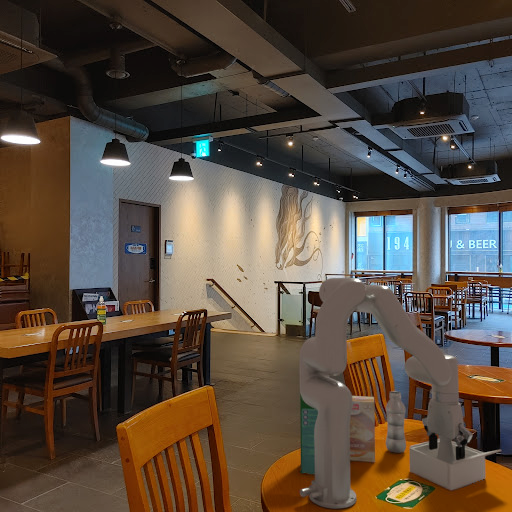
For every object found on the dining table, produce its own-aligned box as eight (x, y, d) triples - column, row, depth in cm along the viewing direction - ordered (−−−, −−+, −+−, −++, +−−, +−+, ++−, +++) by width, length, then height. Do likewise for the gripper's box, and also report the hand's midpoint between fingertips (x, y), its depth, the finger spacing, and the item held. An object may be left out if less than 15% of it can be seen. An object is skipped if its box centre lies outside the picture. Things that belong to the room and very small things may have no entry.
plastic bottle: (391, 446, 166) (390, 389, 167) (409, 451, 161) (408, 392, 162) (382, 451, 161) (381, 392, 162) (400, 457, 157) (399, 396, 157)
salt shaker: (458, 473, 143) (457, 429, 143) (455, 480, 138) (454, 435, 139) (438, 468, 146) (437, 426, 147) (434, 475, 141) (433, 431, 142)
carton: (450, 491, 132) (449, 464, 132) (407, 471, 145) (406, 446, 145) (486, 478, 139) (486, 453, 140) (442, 461, 153) (442, 437, 153)
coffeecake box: (328, 459, 155) (327, 399, 156) (330, 451, 162) (329, 393, 163) (375, 462, 152) (374, 401, 153) (374, 454, 159) (374, 396, 160)
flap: (452, 461, 133) (453, 463, 132) (470, 458, 128) (471, 460, 128) (482, 452, 139) (483, 454, 139) (501, 449, 134) (501, 450, 134)
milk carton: (330, 475, 142) (329, 391, 143) (300, 473, 144) (300, 390, 145) (331, 464, 151) (331, 385, 152) (303, 462, 153) (303, 384, 154)
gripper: (414, 392, 149) (415, 447, 148) (461, 405, 134) (463, 466, 133) (430, 389, 152) (431, 443, 152) (478, 401, 137) (480, 461, 137)
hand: (446, 454), depth 142 cm, fingers open, 9 cm apart
